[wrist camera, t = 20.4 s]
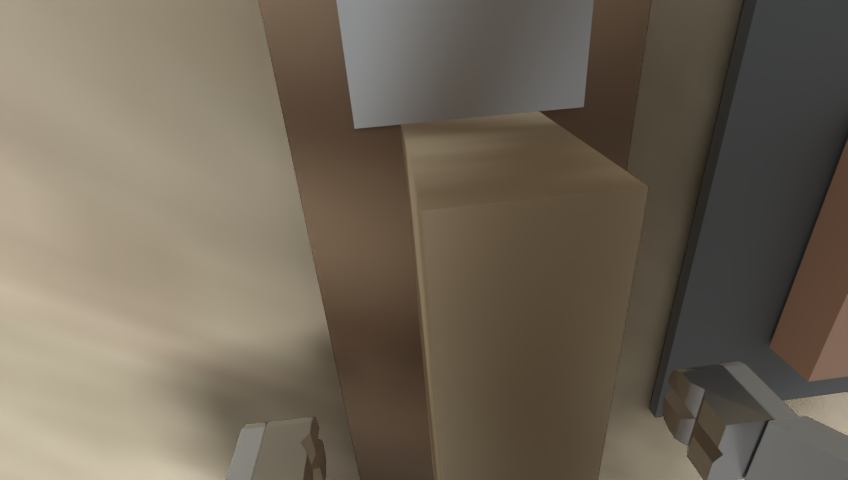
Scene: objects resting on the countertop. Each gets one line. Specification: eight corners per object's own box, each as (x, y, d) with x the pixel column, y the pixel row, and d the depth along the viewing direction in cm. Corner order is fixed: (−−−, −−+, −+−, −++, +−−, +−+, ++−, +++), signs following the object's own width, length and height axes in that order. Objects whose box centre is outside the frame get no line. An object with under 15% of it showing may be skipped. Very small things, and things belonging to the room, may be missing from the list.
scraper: (404, 469, 16) (416, 651, 11) (324, -98, 8) (270, -205, 4) (545, 450, 16) (610, 620, 12) (593, -117, 9) (827, -236, 4)
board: (254, -77, 9) (240, -86, 8) (636, -103, 10) (668, -116, 9) (373, 512, 19) (373, 543, 18) (564, 485, 19) (575, 513, 18)
